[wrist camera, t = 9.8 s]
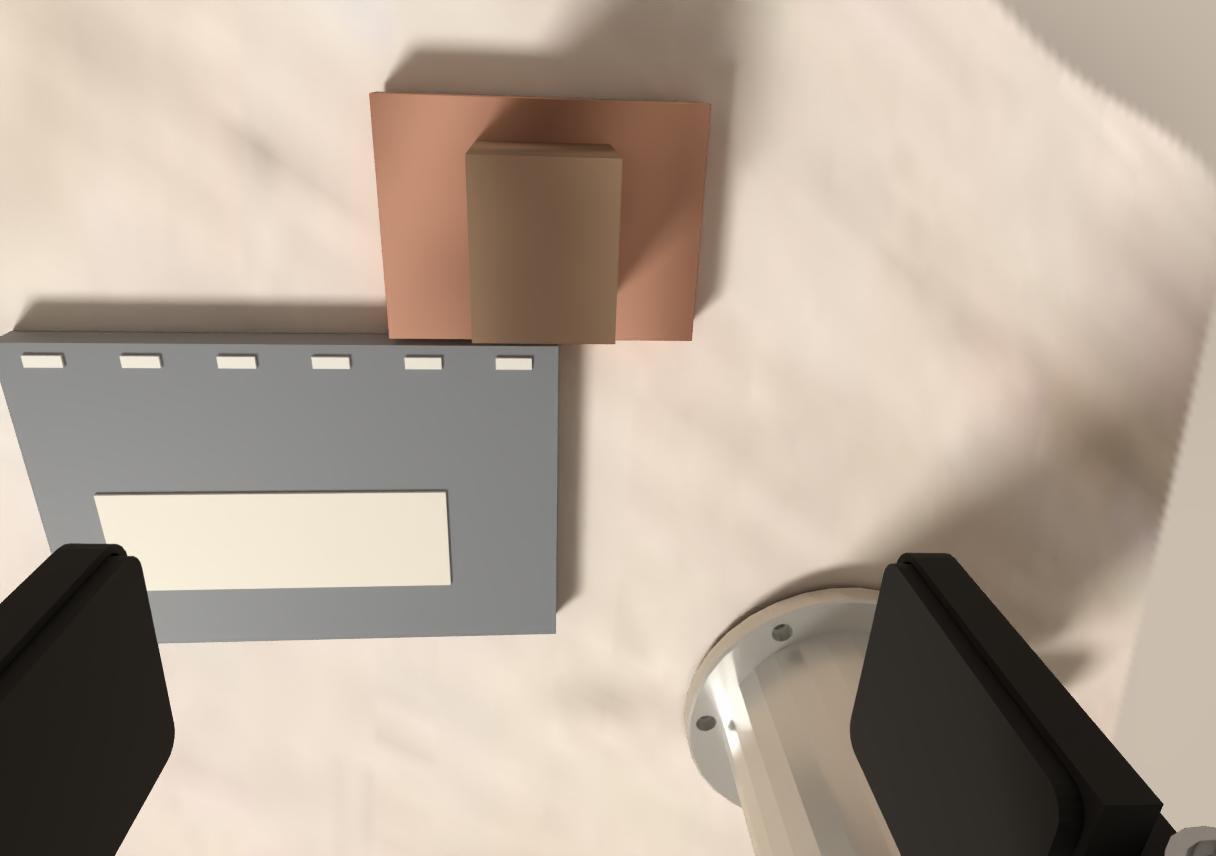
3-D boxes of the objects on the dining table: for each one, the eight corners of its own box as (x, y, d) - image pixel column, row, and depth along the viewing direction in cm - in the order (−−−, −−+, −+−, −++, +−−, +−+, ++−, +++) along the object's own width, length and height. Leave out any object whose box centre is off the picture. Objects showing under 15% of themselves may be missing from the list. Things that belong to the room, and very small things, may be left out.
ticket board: (557, 335, 28) (558, 347, 27) (555, 614, 33) (555, 635, 32) (11, 331, 27) (-13, 343, 25) (94, 625, 31) (77, 647, 30)
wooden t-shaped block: (703, 102, 25) (741, 112, 20) (685, 330, 28) (715, 384, 23) (376, 91, 24) (338, 98, 20) (394, 327, 27) (365, 383, 23)
